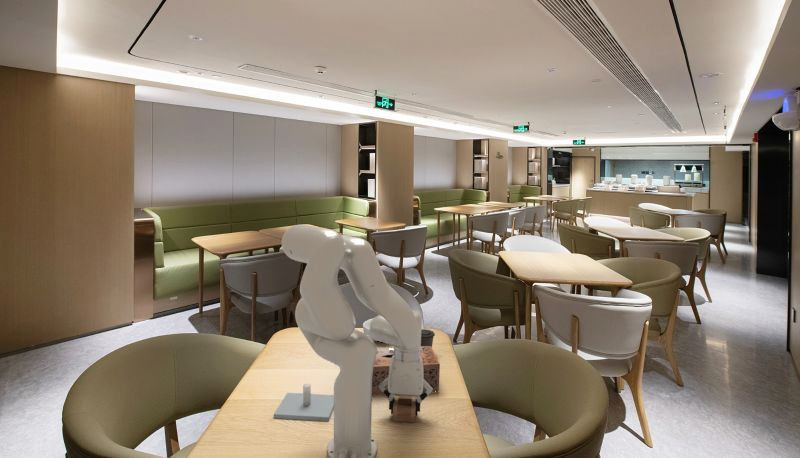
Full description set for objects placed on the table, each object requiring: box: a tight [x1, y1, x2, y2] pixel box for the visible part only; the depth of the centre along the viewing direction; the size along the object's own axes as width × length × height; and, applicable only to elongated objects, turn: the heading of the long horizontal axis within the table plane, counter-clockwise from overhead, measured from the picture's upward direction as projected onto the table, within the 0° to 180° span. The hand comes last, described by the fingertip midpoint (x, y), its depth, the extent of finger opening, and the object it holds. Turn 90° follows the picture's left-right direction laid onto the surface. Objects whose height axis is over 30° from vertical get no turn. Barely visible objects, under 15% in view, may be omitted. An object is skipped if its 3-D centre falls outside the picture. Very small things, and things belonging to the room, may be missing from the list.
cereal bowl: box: [362, 317, 381, 343], centre depth 178 cm, size 17×17×7 cm
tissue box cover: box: [372, 346, 441, 396], centre depth 140 cm, size 26×14×10 cm, turn 97°
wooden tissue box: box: [392, 395, 416, 423], centre depth 121 cm, size 6×6×4 cm
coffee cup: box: [421, 329, 436, 348], centre depth 163 cm, size 8×8×10 cm
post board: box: [273, 383, 334, 422], centre depth 124 cm, size 12×16×7 cm
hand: (404, 412), depth 121 cm, fingers closed on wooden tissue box, 6 cm apart
